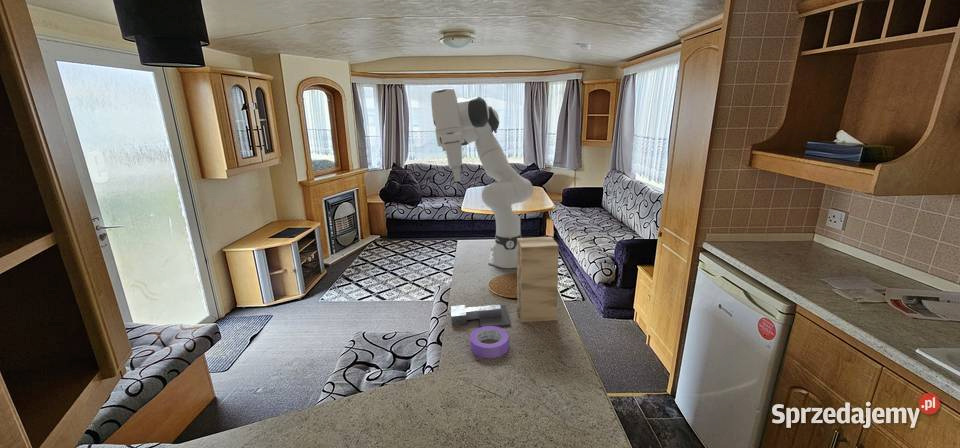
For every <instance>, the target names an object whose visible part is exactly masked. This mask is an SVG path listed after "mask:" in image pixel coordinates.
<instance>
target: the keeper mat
mask: <svg viewBox="0 0 960 448" xmlns="http://www.w3.org/2000/svg"><path fill="white" fill-rule="evenodd" d="M500 307H501V317H490V318H480V319H479V326H480V327H484V326H496V327H500V328H502V327H511V320H510V317H509V314H508V310H507V305H506V304H504V305H503V304H502V305H501V304H500ZM480 327H479V328H480Z"/></svg>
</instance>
